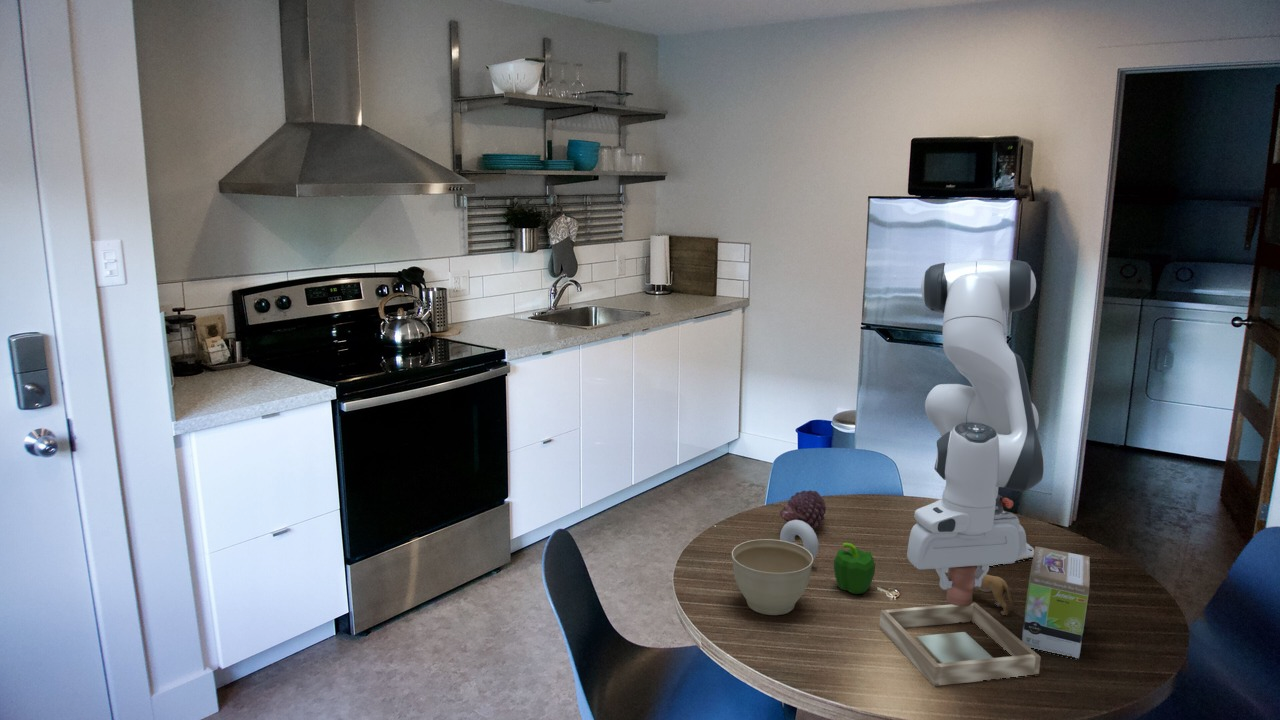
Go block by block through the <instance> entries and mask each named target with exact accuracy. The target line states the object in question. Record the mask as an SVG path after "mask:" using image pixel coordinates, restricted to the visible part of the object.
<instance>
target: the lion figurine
mask: <svg viewBox="0 0 1280 720" xmlns="http://www.w3.org/2000/svg"><path fill="white" fill-rule="evenodd" d="M977 567H978V566H976V568H975V570H976V569H977ZM948 571H949V569H948ZM975 589H977V590H979V591H982V592H986V593H987V592H992V595H993V597H994V599H995V600H996V601H995V602H994V605H995V604H996V605H998V606H997V607H1002V609H1003V610H1001V611H1000V615H1001V614H1004V615H1006V616H1008V614H1009V607H1008V603H1009V606H1010V608H1011V610H1012V612H1014V613H1015V614H1020V613H1021V612H1020V610H1019V609H1017V608H1015V607H1014V605H1013V602H1012V601H1013V600H1012V596H1011V592H1010V591H1011V590H1010V589H1009V586H1008V584H1007V582H1006V580H1004V579H1003V578H1002V577H1000V576H994V575H991V574H988V573H986V575H985V576H984V577H983V579H982V583H981V587H974V588H973V592H974V591H975ZM1005 595H1007V599H1008V603H1007V602H1006V601H1005V599H1004V598H1005ZM996 605H995V606H996Z"/></svg>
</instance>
